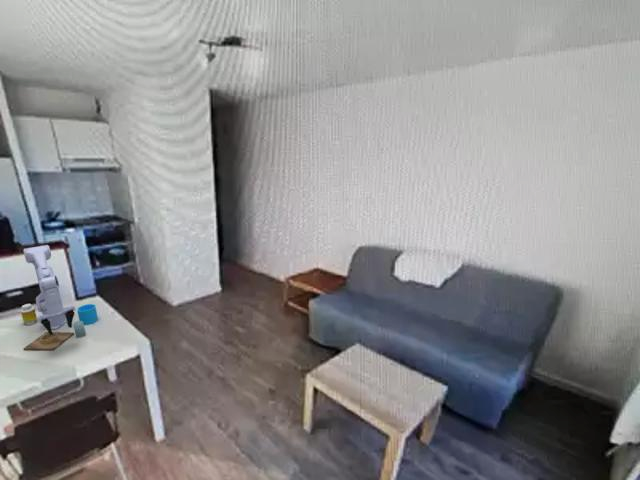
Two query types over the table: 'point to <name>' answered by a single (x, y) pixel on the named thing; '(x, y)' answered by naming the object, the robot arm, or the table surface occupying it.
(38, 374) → the table surface
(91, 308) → the mug
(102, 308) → the table surface
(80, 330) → the teal peg
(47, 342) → the brass collar
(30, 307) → the supplement bottle
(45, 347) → the socket board
